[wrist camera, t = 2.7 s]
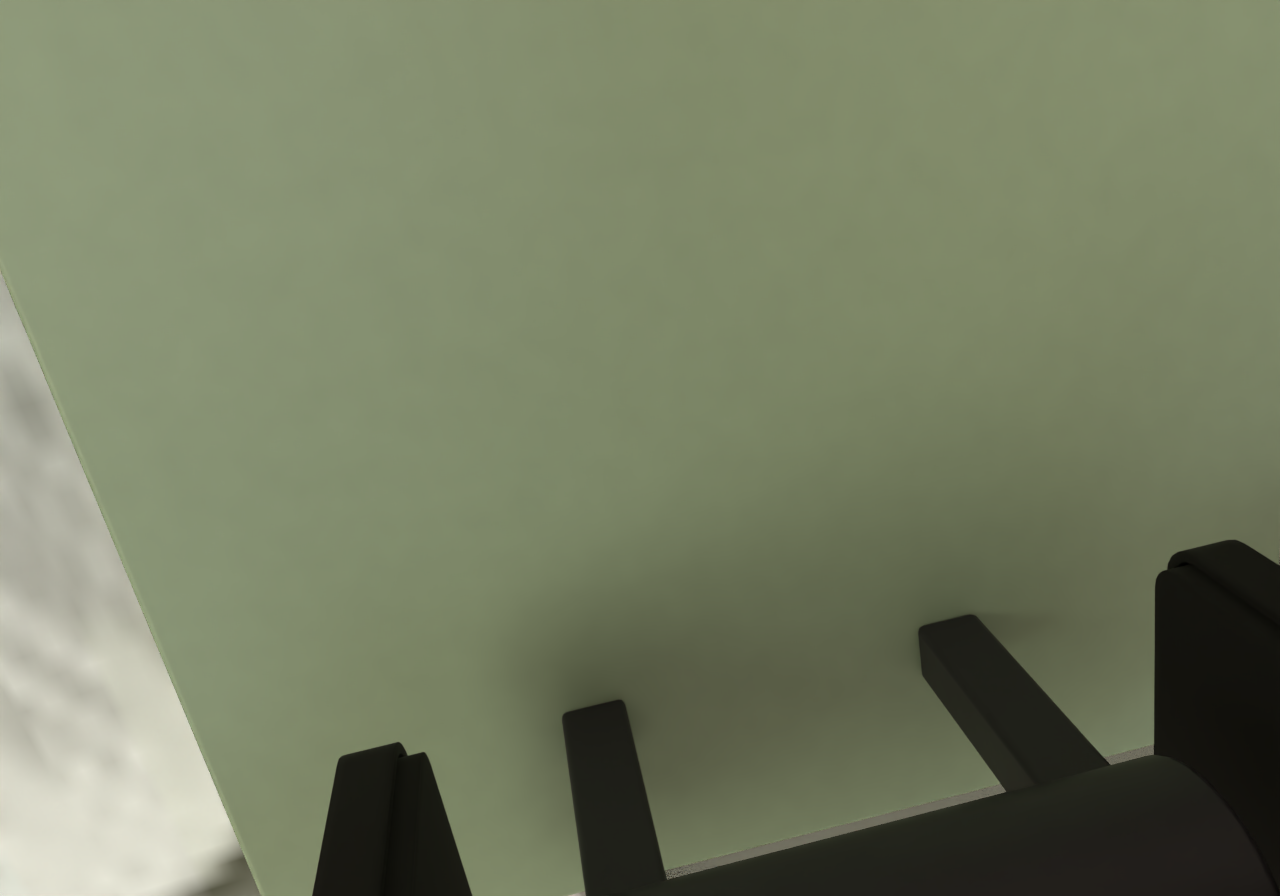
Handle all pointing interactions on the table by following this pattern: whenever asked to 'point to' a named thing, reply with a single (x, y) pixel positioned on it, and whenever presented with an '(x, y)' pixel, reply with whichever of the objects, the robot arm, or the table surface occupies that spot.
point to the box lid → (670, 413)
